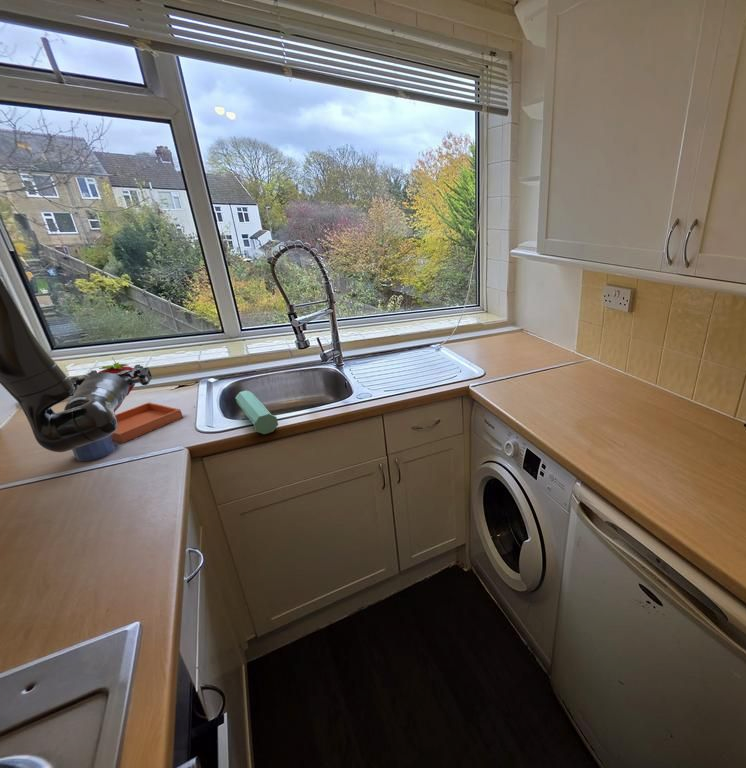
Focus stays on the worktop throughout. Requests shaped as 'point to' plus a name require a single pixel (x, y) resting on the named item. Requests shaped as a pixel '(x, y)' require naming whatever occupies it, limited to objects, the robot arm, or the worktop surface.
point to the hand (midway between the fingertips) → (117, 371)
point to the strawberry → (117, 369)
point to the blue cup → (94, 450)
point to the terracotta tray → (143, 420)
